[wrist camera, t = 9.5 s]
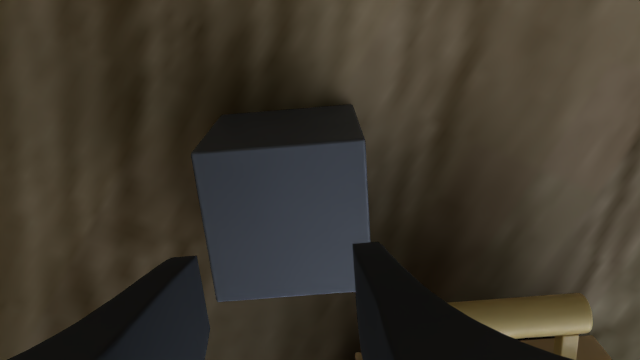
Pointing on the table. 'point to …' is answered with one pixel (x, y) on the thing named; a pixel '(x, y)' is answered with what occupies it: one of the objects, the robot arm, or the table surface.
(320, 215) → the block
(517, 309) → the drawer
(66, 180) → the table surface
